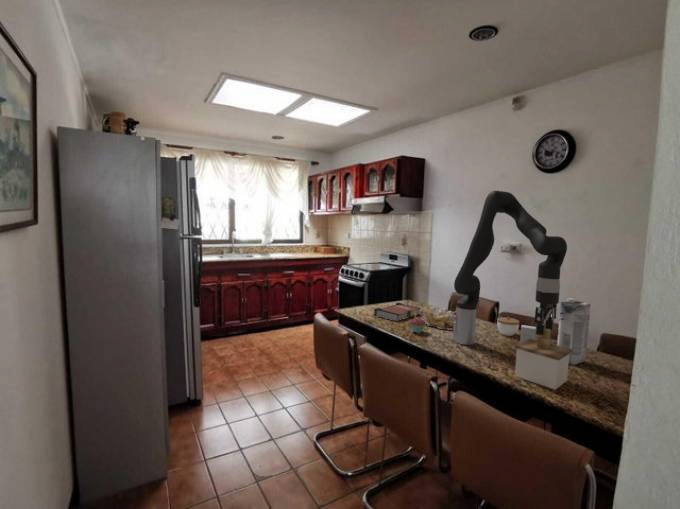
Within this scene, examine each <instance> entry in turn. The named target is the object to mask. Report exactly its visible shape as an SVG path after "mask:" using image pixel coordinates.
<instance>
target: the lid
mask: <svg viewBox="0 0 680 509" xmlns="http://www.w3.org/2000/svg"><path fill="white" fill-rule="evenodd" d="M551 332H552V331H551V329H547V328H546V327H544V335H538V334H537V340H536V339H535V340H533V339H527V340H525V341H523V342H521V343H520V342H518V343H517V344H515V345H514V348H515V349H516V350H517V349H520V350H523V351H527V352H530V353H534V354H538V355H541V356H545V357H548V358H552V359H555V360H561V359H562V358H564V357H565V356H567V355H568V354H570V353H571V352H572V349H569V348H565V347H561V346H557V344H551Z"/></svg>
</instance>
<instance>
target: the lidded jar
mask: <svg viewBox="0 0 680 509" xmlns="http://www.w3.org/2000/svg"><path fill="white" fill-rule="evenodd" d="M496 321H497V322H496V323H497V324H496V325H497V329H498V331H499V333H501V335H503V336H507V337H513V336H514V335H516V334H517V332H519V331H518V330H519V328H520V320H518V319H516V318H512V317H510V316H507V317H505V316H504V317H502V316H500V317H498V318H497V319H496Z"/></svg>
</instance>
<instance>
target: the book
mask: <svg viewBox="0 0 680 509" xmlns="http://www.w3.org/2000/svg"><path fill="white" fill-rule="evenodd" d="M421 309H422V308H421V307H417V306H412V305H408V304H403V303H402V302H396V303H395V304H394V305H390V306H386V307H382V308H378V307H376V308H374V309H373V310H374V311H373V317H376V316H379V317H378V318H380V317H383V318H382V319H384V318H387V319H392V320H396V321H397V320H400V319H403V318H406V317H411V316H413V315H414V310H415V313H416V314H419V315H420V310H421ZM413 317H414V316H413ZM411 318H412V317H411ZM387 319H386V320H387Z"/></svg>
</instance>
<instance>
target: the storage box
mask: <svg viewBox="0 0 680 509" xmlns="http://www.w3.org/2000/svg"><path fill="white" fill-rule="evenodd" d="M515 357H516V358H515V369H514V370H515V371H514V377H517V378H519V379H523V380H524V381H525V380H526V381H528V382H532V383H534V384H537V385H540V386H543V387H547V388H549V389H551V390H555V391H556V390H557V389H558V388H560V387H561V386H562V385H564V383H566V382H567V381H568V375H569V374H568V373H569V365H570V364H569V354H568V355H567V356H565V357H564V358H562V359H561V360H555V359H552V358H548V357H545V356H541V355H538V354H534V353H530V352H527V351H523V350H520V349H516V355H515Z"/></svg>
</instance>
